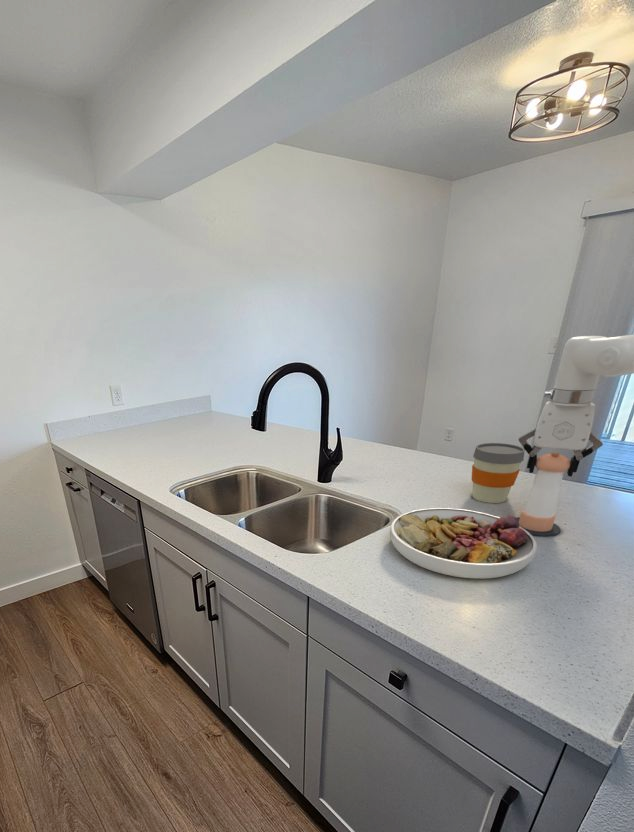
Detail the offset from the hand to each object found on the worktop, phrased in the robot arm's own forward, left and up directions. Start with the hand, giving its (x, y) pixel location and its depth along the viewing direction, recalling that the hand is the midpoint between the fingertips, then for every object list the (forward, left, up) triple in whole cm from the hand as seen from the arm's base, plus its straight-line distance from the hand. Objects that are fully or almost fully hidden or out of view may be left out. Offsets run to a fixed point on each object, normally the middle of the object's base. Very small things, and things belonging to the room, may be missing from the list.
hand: (549, 472), depth 105 cm
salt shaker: (0, 0, -14) cm, 14 cm away
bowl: (+16, +22, -15) cm, 31 cm away
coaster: (0, 0, -15) cm, 15 cm away
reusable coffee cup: (+11, -18, -15) cm, 26 cm away
